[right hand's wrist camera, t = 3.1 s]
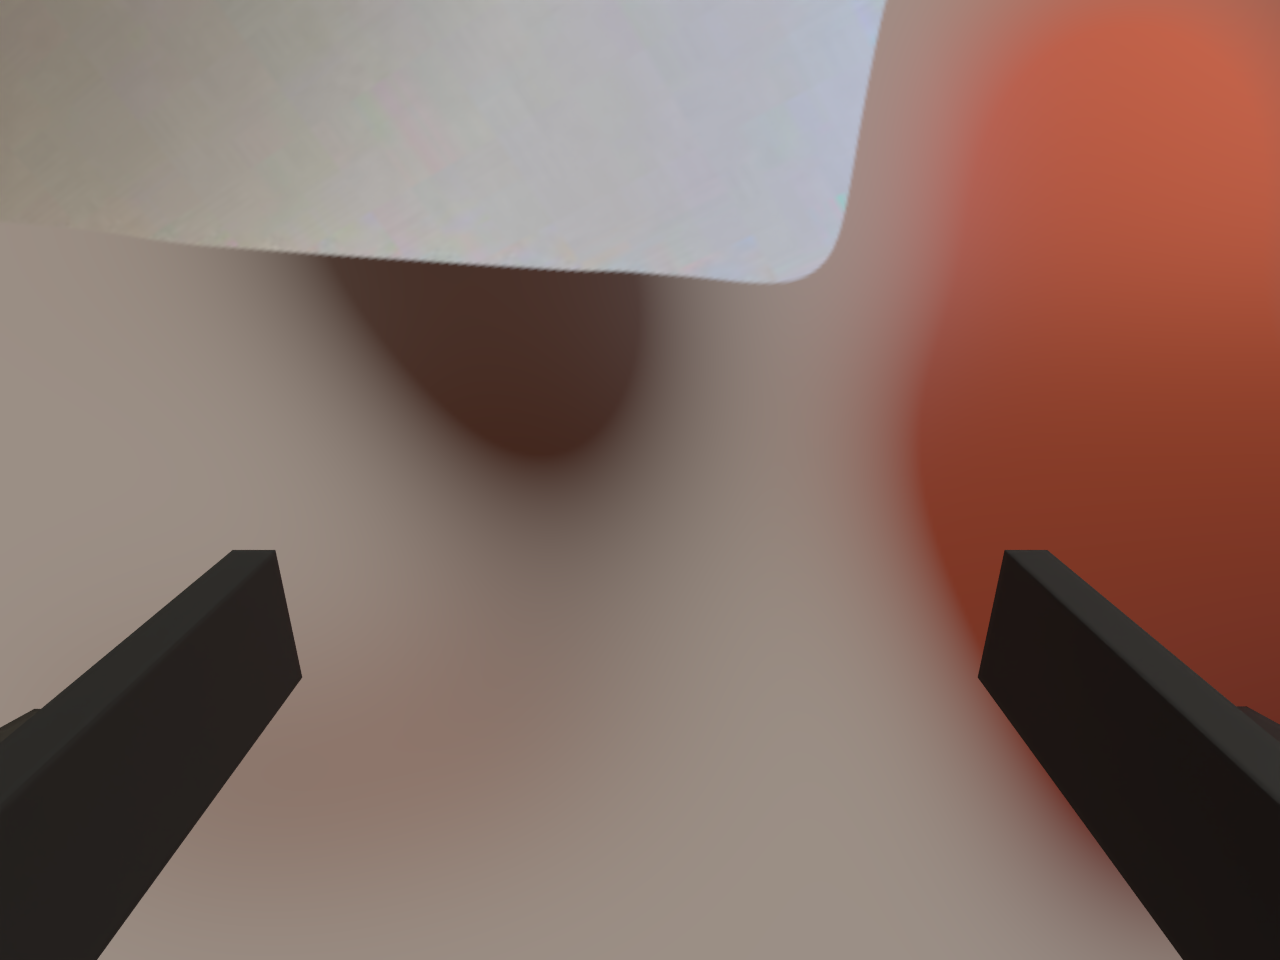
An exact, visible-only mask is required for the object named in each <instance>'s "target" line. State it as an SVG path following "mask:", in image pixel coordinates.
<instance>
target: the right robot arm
mask: <svg viewBox="0 0 1280 960" xmlns="http://www.w3.org/2000/svg"><path fill="white" fill-rule="evenodd" d="M301 678H302V674H301V670H300V665H299V660H298V655H297V651H296V646H295V641H294V636H293V632H292V627H291V622H290V617H289V613H288V608H287V603H286V598H285V594H284V589H283V584H282V580H281V575H280V570H279V565H278V561H277V556H276V551H275V550H232V551H231V552H230V553H229V554H227V555H226V556H225V557H224V558H223V559H221V560H220V561H219V562H218V563H217V564H215V565H214V566H213V567H212V568H211V569H209V570H208V571H207V572H206V573H205V574H203V575H202V576H201V577H200V578H198V579H197V580H196V581H195V582H194V583H192V584H191V585H190V586H189V587H188V588H186V589H185V590H184V591H183V592H182V593H180V594H179V595H178V596H177V597H176V598H174V599H173V600H172V601H171V602H170V603H168V604H167V605H166V606H165V607H164V608H162V609H161V610H160V611H159V612H157V613H156V614H155V615H154V616H153V617H151V618H150V619H149V620H148V621H147V622H145V623H144V624H143V625H142V626H141V627H139V628H138V629H137V630H136V631H135V632H133V633H132V634H131V635H130V636H129V637H127V638H126V639H125V640H124V641H122V642H121V643H120V644H119V645H118V646H116V647H115V648H114V649H113V650H112V651H110V652H109V653H108V654H107V655H106V656H104V657H103V658H102V659H101V660H100V661H98V662H97V663H96V664H95V665H94V666H92V667H91V668H90V669H89V670H87V671H86V672H85V673H84V674H83V675H81V676H80V677H79V678H78V679H77V680H75V681H74V682H73V683H72V684H71V685H69V686H68V687H67V688H66V689H65V690H63V691H62V692H61V693H60V694H59V695H57V696H56V697H55V698H54V699H53V700H51V701H50V702H49V703H48V704H46V705H45V706H44V707H43V708H42V709H33V710H32V711H30V712H28V713H26V714H24V715H23V716H21V717H19V718H17V719H15V720H13V721H12V722H10V723H8V724H6V725H4V726H3V727H1V728H0V960H97V959H98V958H99V956H100V955H101V953H102V952H103V951H104V949H105V948H106V947H107V945H108V944H109V942H110V941H111V940H112V938H113V937H114V935H115V934H116V933H117V931H118V930H119V929H120V927H121V926H122V925H123V923H124V922H125V920H126V919H127V918H128V916H129V915H130V914H131V912H132V911H133V909H134V908H135V907H136V905H137V904H138V902H139V901H140V900H141V898H142V897H143V896H144V894H145V893H146V892H147V890H148V889H149V887H150V886H151V885H152V883H153V882H154V881H155V879H156V878H157V876H158V875H159V874H160V872H161V871H162V870H163V868H164V867H165V865H166V864H167V863H168V861H169V860H170V859H171V857H172V856H173V854H174V853H175V852H176V850H177V849H178V848H179V846H180V845H181V843H182V842H183V841H184V839H185V838H186V837H187V835H188V834H189V832H190V831H191V830H192V828H193V827H194V825H195V824H196V823H197V821H198V820H199V818H200V817H201V816H202V814H203V813H204V812H205V810H206V809H207V808H208V806H209V805H210V803H211V802H212V801H213V799H214V798H215V797H216V795H217V794H218V792H219V791H220V790H221V788H222V787H223V785H224V784H225V783H226V781H227V780H228V779H229V777H230V776H231V774H232V773H233V772H234V770H235V769H236V768H237V766H238V765H239V764H240V762H241V761H242V759H243V758H244V757H245V755H246V754H247V752H248V751H249V750H250V748H251V747H252V746H253V744H254V743H255V742H256V740H257V739H258V737H259V736H260V735H261V733H262V732H263V731H264V729H265V728H266V726H267V725H268V724H269V722H270V721H271V720H272V718H273V717H274V715H275V714H276V713H277V711H278V710H279V709H280V707H281V706H282V704H283V703H284V702H285V700H286V699H287V697H288V696H289V695H290V693H291V692H292V691H293V689H294V688H295V686H296V685H297V684H298V682H299V681H300V680H301ZM978 678H979V680H980V681H981V682H982V684H983V685H984V687H985V688H986V689H987V691H988V692H989V693H990V695H991V696H992V697H993V699H994V700H995V702H996V703H997V704H998V706H999V707H1000V709H1001V710H1002V711H1003V713H1004V714H1005V715H1006V717H1007V718H1008V720H1009V721H1010V722H1011V724H1012V725H1013V726H1014V728H1015V729H1016V731H1017V732H1018V733H1019V735H1020V736H1021V737H1022V739H1023V740H1024V742H1025V743H1026V744H1027V746H1028V747H1029V748H1030V750H1031V751H1032V753H1033V754H1034V755H1035V757H1036V758H1037V759H1038V761H1039V762H1040V764H1041V765H1042V766H1043V768H1044V769H1045V770H1046V772H1047V773H1048V775H1049V776H1050V777H1051V779H1052V780H1053V781H1054V783H1055V784H1056V786H1057V787H1058V788H1059V790H1060V791H1061V792H1062V794H1063V795H1064V797H1065V798H1066V799H1067V801H1068V802H1069V803H1070V805H1071V806H1072V808H1073V809H1074V810H1075V812H1076V813H1077V814H1078V816H1079V817H1080V819H1081V820H1082V821H1083V823H1084V824H1085V825H1086V827H1087V828H1088V830H1089V831H1090V832H1091V834H1092V835H1093V837H1094V838H1095V839H1096V841H1097V842H1098V843H1099V845H1100V846H1101V847H1102V849H1103V850H1104V852H1105V853H1106V854H1107V856H1108V857H1109V859H1110V860H1111V861H1112V863H1113V864H1114V865H1115V867H1116V868H1117V869H1118V871H1119V872H1120V874H1121V875H1122V876H1123V878H1124V879H1125V881H1126V882H1127V883H1128V885H1129V886H1130V887H1131V889H1132V890H1133V892H1134V893H1135V894H1136V896H1137V897H1138V898H1139V900H1140V901H1141V903H1142V904H1143V905H1144V907H1145V908H1146V909H1147V911H1148V912H1149V914H1150V915H1151V916H1152V918H1153V919H1154V920H1155V922H1156V923H1157V925H1158V926H1159V927H1160V929H1161V930H1162V931H1163V933H1164V934H1165V936H1166V937H1167V938H1168V940H1169V941H1170V942H1171V944H1172V945H1173V946H1174V948H1175V949H1176V951H1177V952H1178V953H1179V955H1180V956H1181V958H1182V959H1183V960H1280V725H1279V724H1278V723H1276V722H1274V721H1272V720H1270V719H1268V718H1267V717H1265V716H1263V715H1261V714H1259V713H1258V712H1256V711H1254V710H1252V709H1250V708H1248V707H1236V706H1235V705H1234V704H1232V703H1231V702H1230V701H1229V700H1227V699H1226V698H1225V697H1224V696H1223V695H1221V694H1220V693H1219V692H1218V691H1217V690H1215V689H1214V688H1213V687H1212V686H1211V685H1209V684H1208V683H1207V682H1206V681H1205V680H1203V679H1202V678H1201V677H1200V676H1199V675H1197V674H1196V673H1195V672H1194V671H1193V670H1191V669H1190V668H1189V667H1188V666H1186V665H1185V664H1184V663H1183V662H1182V661H1180V660H1179V659H1178V658H1177V657H1176V656H1174V655H1173V654H1172V653H1171V652H1170V651H1168V650H1167V649H1166V648H1165V647H1164V646H1162V645H1161V644H1160V643H1159V642H1158V641H1156V640H1155V639H1154V638H1153V637H1151V636H1150V635H1149V634H1148V633H1147V632H1145V631H1144V630H1143V629H1142V628H1141V627H1139V626H1138V625H1137V624H1136V623H1135V622H1133V621H1132V620H1131V619H1130V618H1129V617H1127V616H1126V615H1125V614H1124V613H1123V612H1121V611H1120V610H1119V609H1118V608H1117V607H1115V606H1114V605H1113V604H1112V603H1110V602H1109V601H1108V600H1107V599H1106V598H1104V597H1103V596H1102V595H1101V594H1100V593H1098V592H1097V591H1096V590H1095V589H1094V588H1092V587H1091V586H1090V585H1089V584H1088V583H1086V582H1085V581H1084V580H1083V579H1082V578H1080V577H1079V576H1078V575H1077V574H1075V573H1074V572H1073V571H1072V570H1071V569H1069V568H1068V567H1067V566H1066V565H1065V564H1063V563H1062V562H1061V561H1060V560H1059V559H1057V558H1056V557H1055V556H1054V555H1053V554H1051V553H1050V552H1049V551H1048V550H1005V551H1004V556H1003V561H1002V565H1001V570H1000V575H999V580H998V584H997V589H996V594H995V599H994V603H993V608H992V613H991V618H990V622H989V627H988V632H987V636H986V641H985V646H984V651H983V655H982V660H981V665H980V670H979V674H978Z"/></svg>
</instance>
